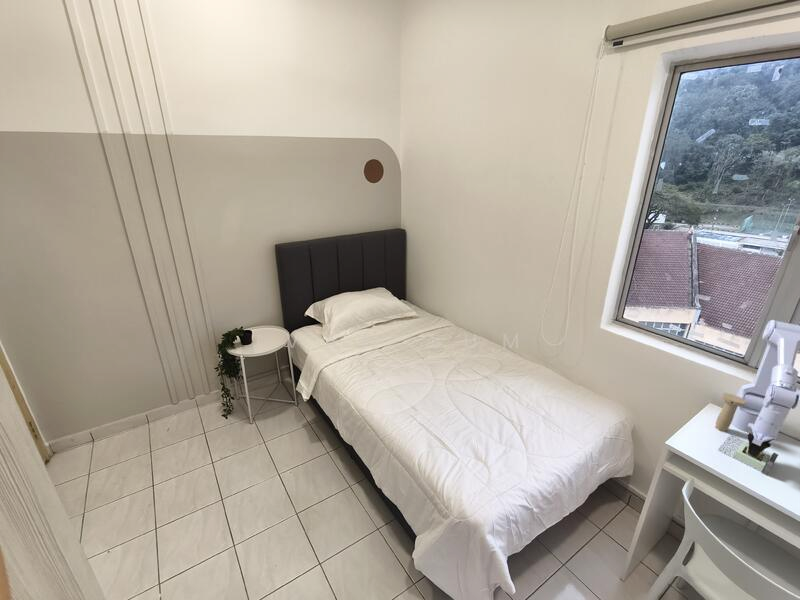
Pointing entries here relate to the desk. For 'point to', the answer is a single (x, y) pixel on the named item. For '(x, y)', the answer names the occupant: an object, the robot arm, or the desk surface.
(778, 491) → the desk surface
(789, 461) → the desk surface
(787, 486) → the desk surface
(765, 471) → the board
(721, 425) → the handle
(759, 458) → the dowel
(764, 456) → the collar block
